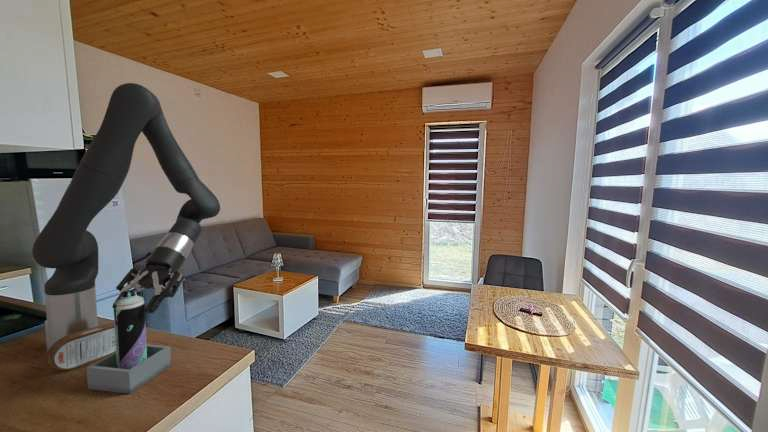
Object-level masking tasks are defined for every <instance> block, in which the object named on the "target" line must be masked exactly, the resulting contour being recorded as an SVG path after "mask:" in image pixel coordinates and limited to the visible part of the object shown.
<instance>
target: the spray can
mask: <svg viewBox="0 0 768 432" xmlns="http://www.w3.org/2000/svg"><path fill="white" fill-rule="evenodd" d="M113 303H114V308H113V320H114V322H113V323H114V324H115V341H116V359H117V368H119V369H129V370H130V369H131V368H133V367H135V366H136V365H138V364H139V363H141V362H143V361H144V360H146V359H147V345H146V344H147V330H146V329H147V327H146V311H145V308H146V305H145V298H144V296H141V295H138V294H137V293H134V291H133V290H132V289H130V290H129V291H124V294H123V296H121V298H120V299H119V300H117V301H116V300H115V301H114V302H113Z"/></svg>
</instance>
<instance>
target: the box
mask: <svg viewBox="0 0 768 432" xmlns="http://www.w3.org/2000/svg"><path fill="white" fill-rule="evenodd" d="M146 345H147V359H146V360H144V361H143V362H141V363H139V364H138V365H136V366H135V367H133V368H131V369H130V370H129V369H119V368H117V359H116V352H115V353H113V354H111V355H109V356H107V357H104V358H101V359H99V360H97V361H96V362H94V363H92V364H91V365H88V366H87V367H86V379H87V380H86V381H87V389H89V390H95V391H103V392H111V393H112V392H113V393H121V394H126V395H127V394H128V395H129V394H133V393H134V392H135V391H137V390H138V389H139V388H141V387H142V386H144V385H145V384H147V383H148V382H149V381H151V380H152V379H154V378H155V377H157V376H158V375H160V374H161V373H162V372H164V371H165V370H167V369H168V368H170V367H171V366H172V355H171V354H172V353H171V346H170V345H158V344H148V343H146Z"/></svg>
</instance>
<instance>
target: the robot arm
mask: <svg viewBox="0 0 768 432" xmlns="http://www.w3.org/2000/svg"><path fill="white" fill-rule="evenodd" d="M164 114H165V113H164V111H163V109H162V106H161V103H160V100H159V98H158V96H156V95H155V94H154V93H153V92H152V91H151V90H150V89H148V88H147V87H145V86H143V85H141V84H138V83H136V82H135V83H134V82H125V83H122V84H120V85H118V86H117V87H115V89H113V91H112V94H111V96H110V98H109V102H108V105H107V107H106V110H105V114H104V116H103V120H102V122H101V125H100V126H99V128H98V130H97V133H96V134H95V135H94V137H93V139H92V140H91V142H90V144H89V145H88V147H87V149H86V151H85V152H84V154H83V156H82V158H81V159H80V162H79V164H78V165H77V168H76V169H75V171H74V173H73V175H72V177H71V181H70V182H69V184H68V186H67V188H66V190H65V192H64V194H63V196H62V197H61V200H60V201H59V204H58V205H57V207H56V209H55V211H54V212H53V214H52V216H51V217H50V218H49V220H48V221H47V223H46V225H45V226H44V227H43V229H42V230H41V232H40V233H39V234H38V236H37V237H36V239H35V241H34V243H33V244H32V249H31V254H32V257H33V260H34V261H35V262H36V263H37V264H38V265H39V266H40V267H42V268H45V269H55V270H54V272H53V274H52V275H51V276H50V278H48V279H47V281H46V282H45V283H44V286H43V288H44V289H43V290H44V301H45V310H46V311H45V313H46V320H45V321H44V333H45V343H46V353H47V352H48V350H49V348H50V347H51V346H52V345H53V344H54V343H55V342H56V341H57V340H59V339H60V338H62V337H64V336H66V335H69V334H72V333H76V332H80V331H83V330H87V329H90V328H93V327H97V326H99V323H98V322H99V321H98V309H97V308H98V307H97V293H96V292H97V291H96V278H97V277H98V275H99V244H98V241H97V239H96V237H95V235H94V234H93V233H91V232H90V231H88V230H87V229H88V228H89V225H90V224H91V222H92V221H93V219H94V218H95V217H96V216H97V215H98V214H99V213H100V212H101V211H102V210H103V209H105V208H106V207H107V206H108V205H109V204H110V203H111V202H112V200H113V199H114V198H116V196H118V195H117V194H118V193H119V192H120V190H121V188H122V186H123V184H124V182H125V180H126V178H127V176H128V173H129V170H130V168H131V164H132V159H133V153H134V148H135V145H136V142H137V140H138V138H139V136H140V135H141V133H142V134H143V135H144V137H145V138H146V140H147V141H148V143H149V145H150V147H151V149H152V150H153V153H154V155H155V157H156V159H157V162H158V164H159V166H160V168H161V170H162V172H163V173H164V174H165V177H166V178H167V180H168V181H169V183H170V184H171V185H172V187H173V189H174V190H175V191H176V192H177V193H178V194H185V195H187V196H188V197H189V198H190V199H188V200H187V201H185V203H184V204H182V206H181V208H180V210H179V211H178V214H177V217H176V219H175V223H173V225H172V227H171V228H170V229H169V230H168V232H167V233H166V235H164V236H163V237H162V238H161V240H160V241H159V242H158V243H157V245H156V247H155V248H154V249H153V250H152V252H151V254H150V255H149V256H148V257H147V259H146V261H145V267H144V268H143V269H141V270H139V269H138V270H137V269H136V268H134V267H133V268H130V270H129V271H128V272H127V274H126V275H125V276H124V277H123V278H122V280H121V281H120V282H119V284H118V285H117V286H116V287H115V289H116V290H117V291H119V292H120V293H119V294H118V297H117V298H116V299H115V301H117V300H119V299H120V298H121V296H123V294H124V291H129V290H133V291H134V293H135V294H137V292H142V291H143V290H145V289H146V290H147V289H148V290H149V289H150V290H151V289H153V290H154V294H155V295H152V297H150V300H149V302H148V303H147V305H145V313H147V314H150V315H151V314H154V313H155V312H156V311H157V310H158V309H159V307H160V305H161V304H162V302H163V300H166V299H167V298H173V297H175V295H176V293H177V292H178V290H179V287H180V286H181V284H182V283H183V281H184V279H185V276H184V275H183V274H182V273H181V272H180V269H181V267H182V266H183V265H184V264H185V263H184V262H185V261H186V259H187V257H188V256H189V255H190V253H191V251H192V249H193V247H194V245H195V243H196V242H197V240H198V239H199V237H200V235H201V233H202V232H203V229H202V226H201V225H202V224H200V223H201V222H202V221H203V220H207V219H211V218H214V217H216V216H218V215H219V213H220V211H221V205H220V202H219V199H218V198H217V196H216V195H215V194H214V193H213V192H212V190H211V189H209V187H207V185H205V183H203V181H202V180H201V179H200V177H199V176H198V174H197V172H196V170H195V169H194V167H193V166H192V163H191V162H190V161H189V159H188V158H187V155H185V153H184V151H183V150H182V149H181V147H180V145H179V143H178V142H177V140H176V138H175V136H174V135H173V133H172V130H171V129H170V127H169V124H168V122H167V119H166V118H165V115H164ZM112 309H114V302H113V304H112Z"/></svg>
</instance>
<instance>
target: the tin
mask: <svg viewBox="0 0 768 432" xmlns="http://www.w3.org/2000/svg"><path fill="white" fill-rule="evenodd" d="M115 352H116V341H115V324H114V322H107V323H105V324H101V325H98V326H97V327H93V328H90V329H87V330H83V331H80V332H76V333H72V334H69V335H66V336H64V337H62V338H60V339H59V340H57V341H56V342H55V343H54V344H53V345H52V346H51V347H50V348H49V350H48V352H47V351H46V357H45V358H46V362H47V364H48V365H49V366H50V367H52V368H53V369H54V370H58V371H70V370H74V369H76V368H77V369H78V368H79V367H82V366H85V365H88V364H90V363H92V362H95V361H96V362H97V361H100V360H102V359H104V358H105V357H107V356H109V355H111V354H113V353H115Z"/></svg>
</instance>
